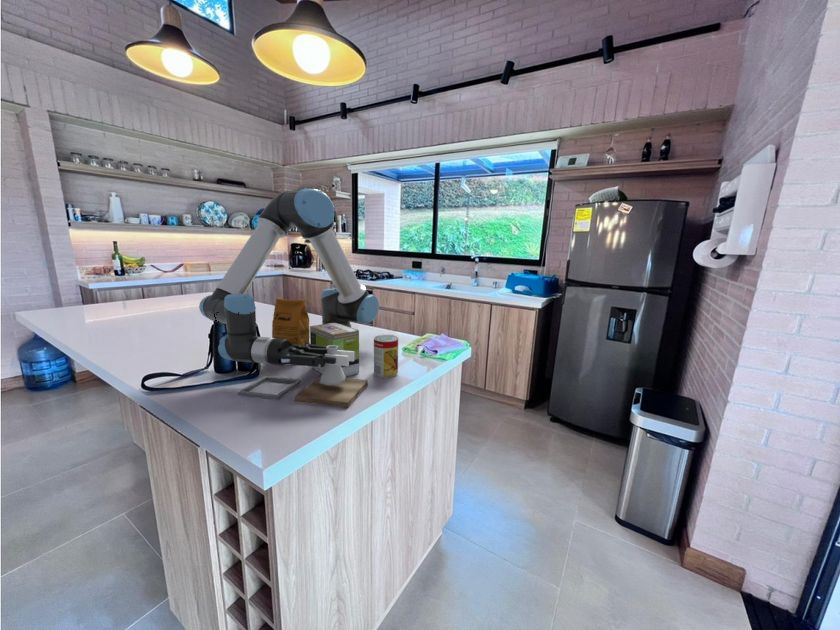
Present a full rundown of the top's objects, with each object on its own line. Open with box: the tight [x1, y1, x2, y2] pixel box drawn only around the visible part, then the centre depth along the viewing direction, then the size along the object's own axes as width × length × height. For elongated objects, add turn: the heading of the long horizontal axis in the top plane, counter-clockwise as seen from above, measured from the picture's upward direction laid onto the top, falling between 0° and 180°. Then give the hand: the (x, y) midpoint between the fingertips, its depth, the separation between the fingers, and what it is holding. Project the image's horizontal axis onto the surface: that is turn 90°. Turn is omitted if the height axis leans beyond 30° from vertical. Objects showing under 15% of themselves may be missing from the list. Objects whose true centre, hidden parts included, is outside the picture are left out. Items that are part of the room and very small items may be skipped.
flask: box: [320, 345, 347, 385], centre depth 91 cm, size 7×7×10 cm
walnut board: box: [294, 374, 369, 409], centre depth 93 cm, size 15×15×2 cm
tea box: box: [309, 323, 360, 378], centre depth 108 cm, size 15×10×15 cm, turn 44°
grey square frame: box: [237, 375, 303, 401], centre depth 94 cm, size 12×12×1 cm
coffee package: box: [271, 297, 310, 346], centre depth 118 cm, size 10×12×22 cm
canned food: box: [373, 334, 399, 378], centre depth 108 cm, size 8×8×12 cm
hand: (350, 358), depth 90 cm, fingers closed on flask, 3 cm apart
